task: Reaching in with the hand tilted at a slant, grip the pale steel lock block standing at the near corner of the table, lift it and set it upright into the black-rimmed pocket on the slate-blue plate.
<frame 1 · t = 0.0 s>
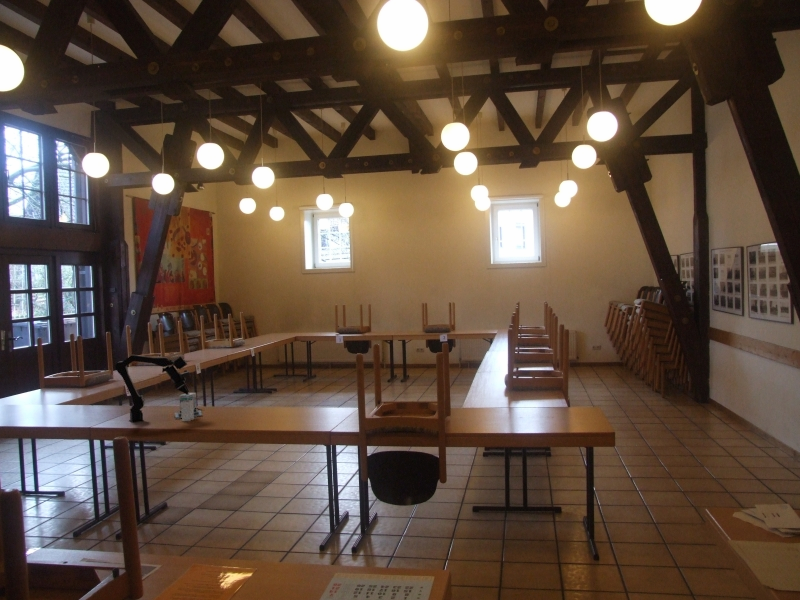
hand: (188, 393, 375), 15 cm above the table, tool tilted 35°, fingers open, 9 cm apart
lock block: (187, 420, 363), on the table
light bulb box: (188, 409, 397), on the table
dock: (188, 415, 377), on the table
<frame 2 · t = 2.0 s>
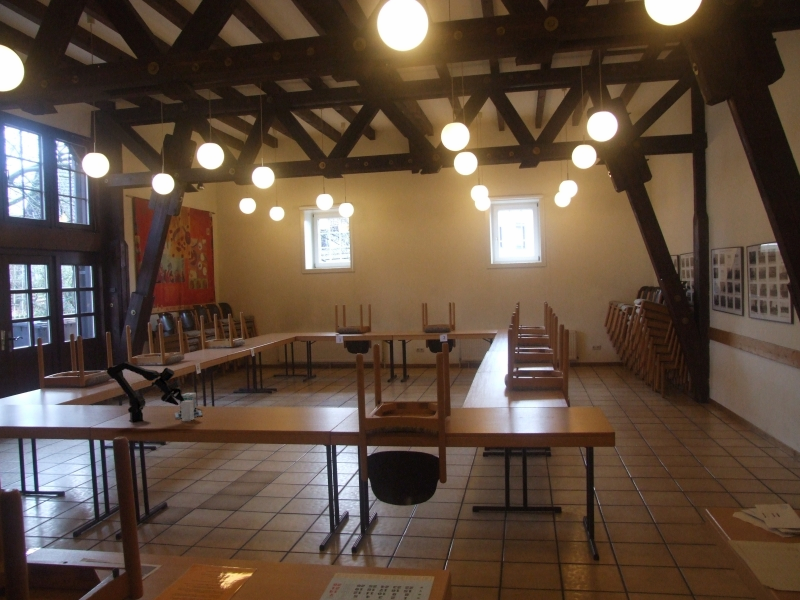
hand: (181, 403, 363), 11 cm above the table, tool tilted 45°, fingers open, 9 cm apart
nothing on the table moved.
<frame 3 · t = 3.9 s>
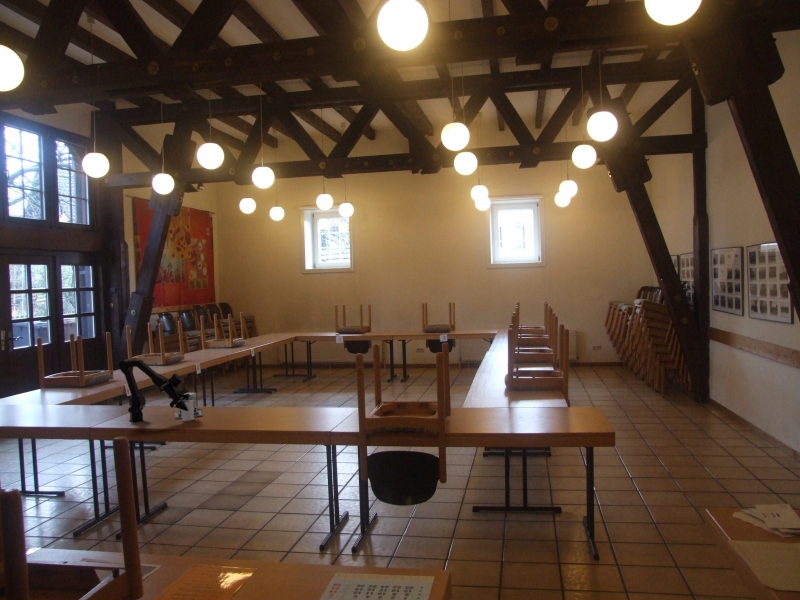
hand: (189, 409, 363), 7 cm above the table, tool tilted 45°, fingers closed on lock block, 5 cm apart
lock block: (187, 420, 363), on the table, touching gripper
everything else where it was.
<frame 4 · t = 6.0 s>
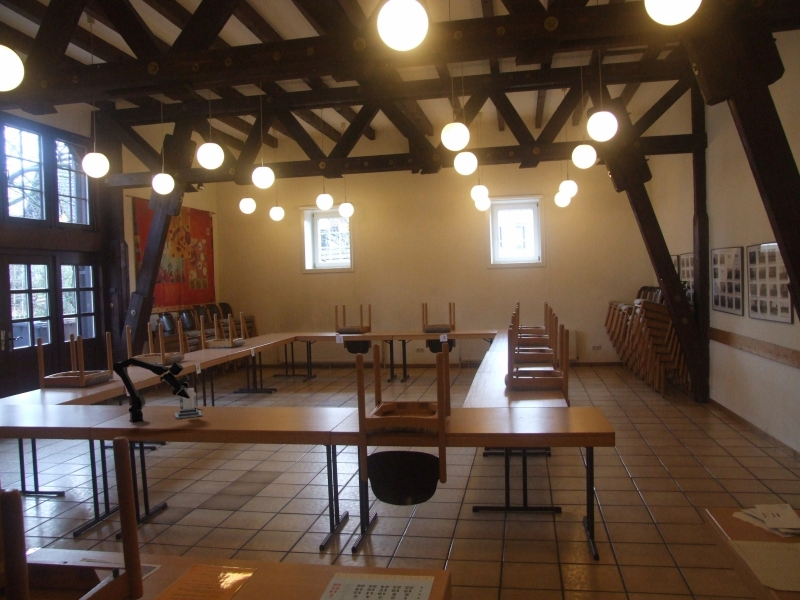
hand: (190, 397, 368), 13 cm above the table, tool tilted 45°, fingers closed on lock block, 5 cm apart
lock block: (188, 407, 368), point 7 cm above the table, touching gripper
everything else where it was.
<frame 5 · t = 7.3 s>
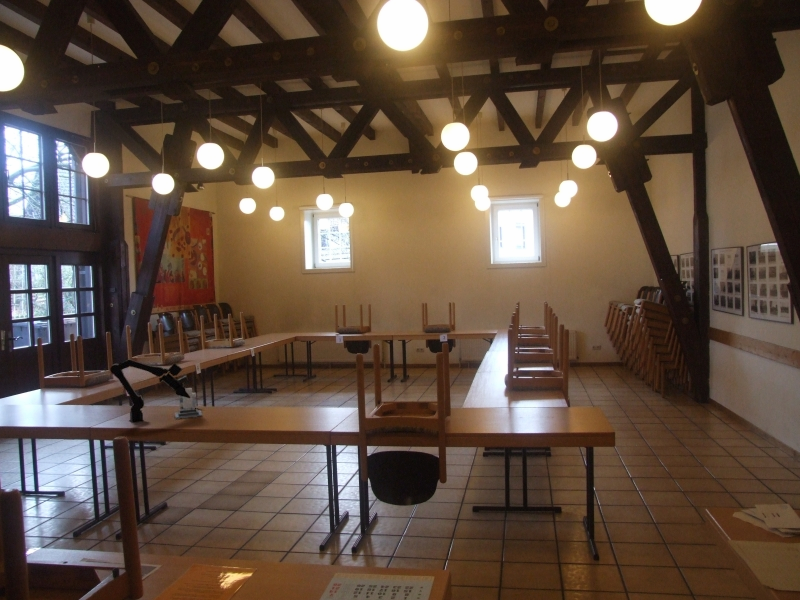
hand: (189, 397, 377), 12 cm above the table, tool tilted 45°, fingers closed on lock block, 5 cm apart
lock block: (187, 407, 377), point 5 cm above the table, touching gripper
everything else where it was.
when the fingers open (9 cm above the table, at t = 8.4 s): lock block stays where it is, resting on dock.
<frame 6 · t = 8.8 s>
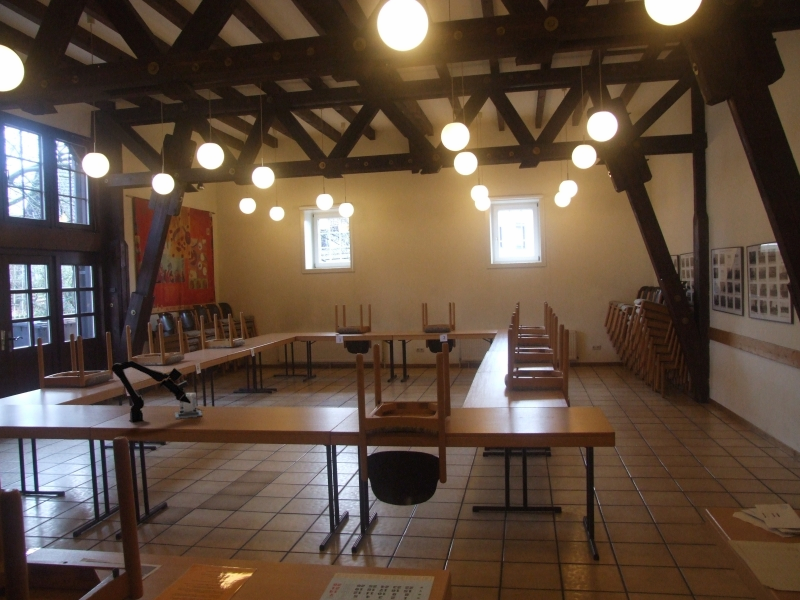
hand: (190, 401, 378), 9 cm above the table, tool tilted 45°, fingers open, 9 cm apart
lock block: (188, 413, 377), point 1 cm above the table, touching dock
everything else where it was.
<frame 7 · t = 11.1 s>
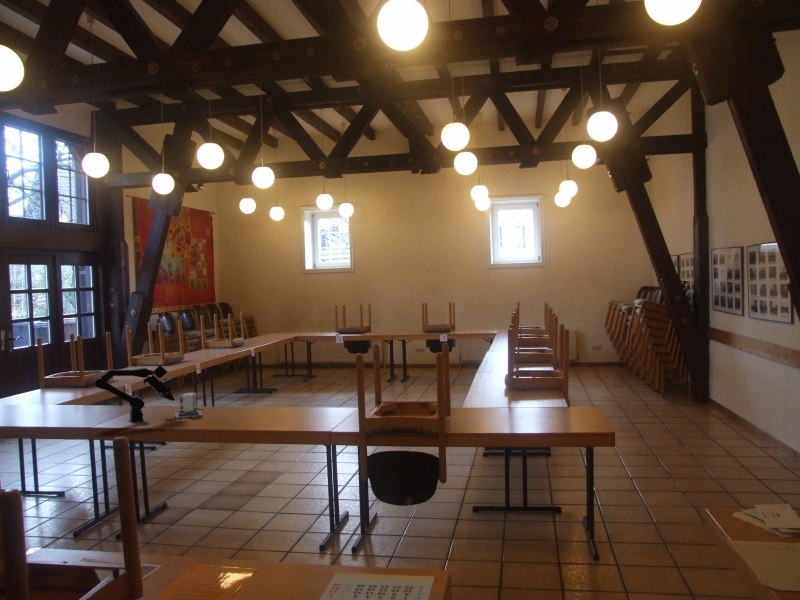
hand: (172, 400, 375), 11 cm above the table, tool tilted 40°, fingers open, 9 cm apart
nothing on the table moved.
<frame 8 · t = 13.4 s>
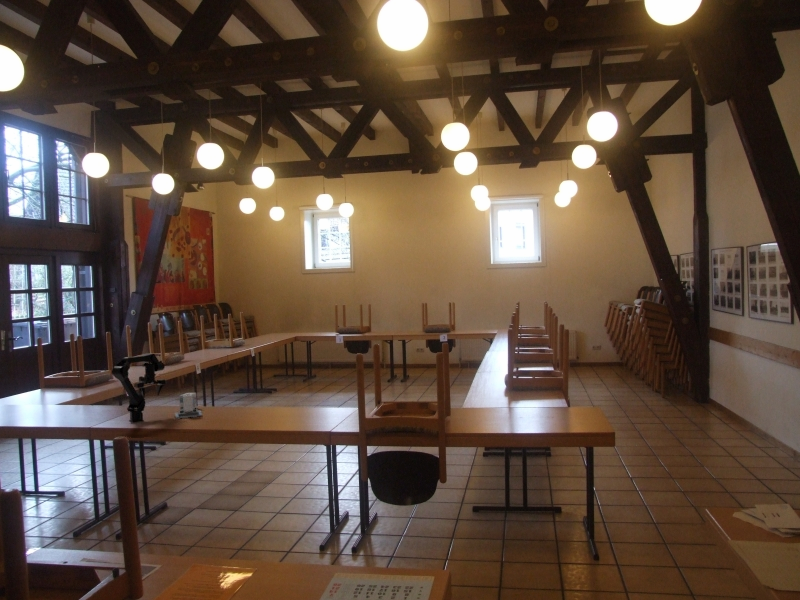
hand: (150, 396, 377), 13 cm above the table, tool pointing down, fingers open, 9 cm apart
nothing on the table moved.
at the end: lock block 0.0 cm off-centre on the dock, point 1.2 cm above the dock's base; lock block tilted 0°; the gripper is holding nothing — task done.
